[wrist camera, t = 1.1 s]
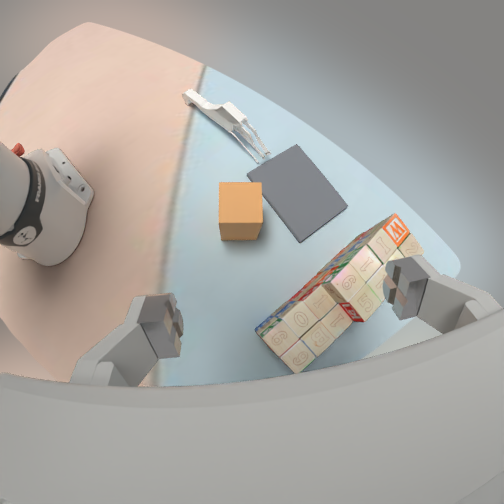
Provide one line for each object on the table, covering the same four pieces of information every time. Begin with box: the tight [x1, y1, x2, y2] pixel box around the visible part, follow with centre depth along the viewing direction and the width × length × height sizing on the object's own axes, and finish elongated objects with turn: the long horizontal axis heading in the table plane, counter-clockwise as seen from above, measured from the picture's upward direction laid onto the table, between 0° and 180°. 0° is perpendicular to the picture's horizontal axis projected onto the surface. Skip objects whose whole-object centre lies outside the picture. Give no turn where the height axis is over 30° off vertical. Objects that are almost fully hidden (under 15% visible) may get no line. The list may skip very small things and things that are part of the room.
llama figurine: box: [182, 89, 271, 163], centre depth 42 cm, size 2×11×18 cm
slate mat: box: [247, 144, 348, 243], centre depth 43 cm, size 13×10×1 cm
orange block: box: [219, 182, 263, 240], centre depth 37 cm, size 5×5×9 cm
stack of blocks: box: [255, 213, 424, 374], centre depth 34 cm, size 21×6×12 cm, turn 131°
